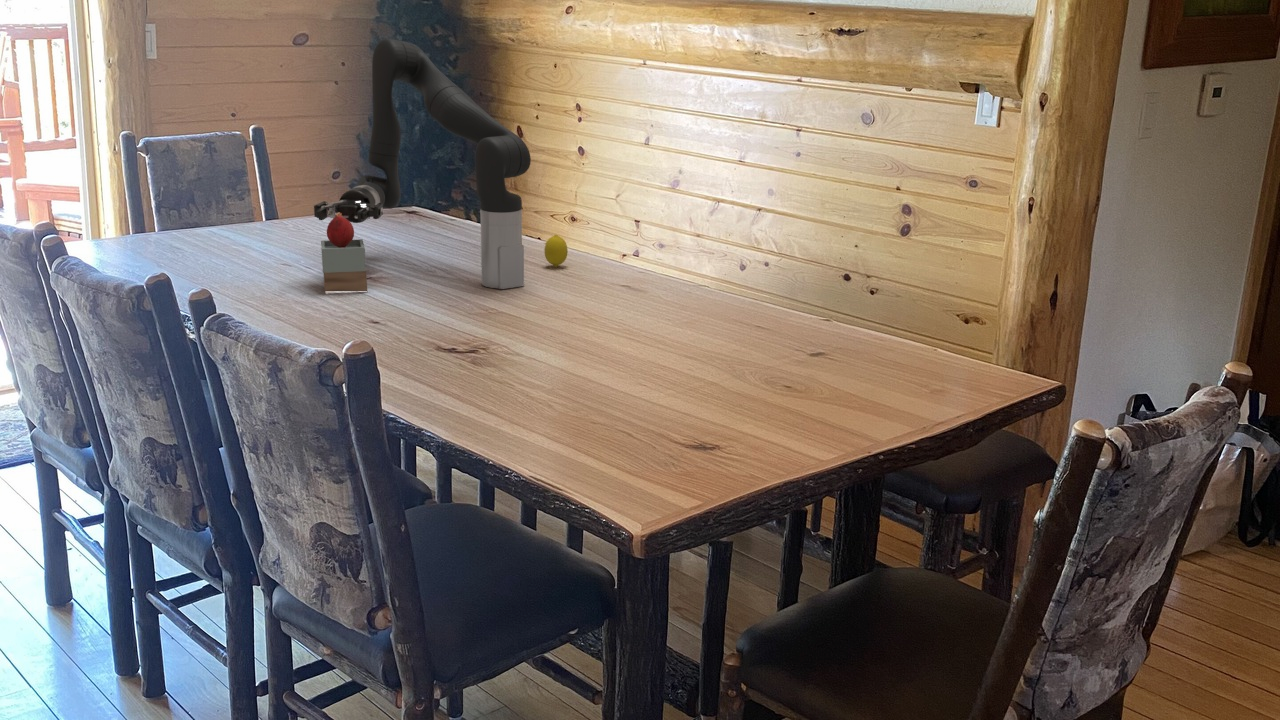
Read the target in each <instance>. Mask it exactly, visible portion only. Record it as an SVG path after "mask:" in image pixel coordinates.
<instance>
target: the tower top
mask: <svg viewBox="0 0 1280 720" xmlns="http://www.w3.org/2000/svg"><path fill="white" fill-rule="evenodd" d="M320 247H321V265H322V273H323V274H324V273H331V272H357V271H366V272H367V265H366V247H365V243H364V240H363V239H362V238H361V239H359V238H358V239H353V240H352V241H351V242H350V243H349V244H348V245H347V246H346V247H345V248H339V247H337V246H335V245H334V244H332V243H331V242H330V241H329V239H328V240H321V241H320Z"/></svg>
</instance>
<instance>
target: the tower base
mask: <svg viewBox="0 0 1280 720" xmlns="http://www.w3.org/2000/svg"><path fill="white" fill-rule="evenodd" d="M323 281H324V282H323V285H324V292H325V291H367V292H368V277H367V270H366V271H357V272H331V273H323Z"/></svg>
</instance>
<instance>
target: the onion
mask: <svg viewBox="0 0 1280 720" xmlns="http://www.w3.org/2000/svg"><path fill="white" fill-rule="evenodd" d="M326 236H327V239H328V240H329V241H330V242H331V243H332V244H334V245H335V246H337V247H339V248H345V247H346V246H347V245H348V244H349V243H350V242H351V241H352V240H354V237H355V229H354V226H353V224H352V222H349V221H348V220H347V219H346V218H344V217H342V214H341V213H337V214H336V216H335V218H334V219H333V218H331V220H330V222H329V223H328V224H327V228H326Z"/></svg>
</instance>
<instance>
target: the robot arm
mask: <svg viewBox="0 0 1280 720" xmlns="http://www.w3.org/2000/svg"><path fill="white" fill-rule="evenodd" d="M374 47H375V48H374V50H373V54H372V61H371V62H372V63H371V64H372V65H371V67H372V68H371V69H372V71H371V72H372V73H371V75H372V76H371V77H372V78H371V79H372V80H371V81H372V82H371V84H372V86H371V87H372V89H371V90H372V94H371V95H372V128H371V137H370V143H369V150H368V151H369V152H368V157H367V160H368V163H369V165H371V166H373V167H375V168H378V169H380V170H382V171H383V172H384V174H385V176H386V178H385V177H379V176H375V175H369V174H368V175H363V176H360V178H359V179H358V182H357V185H356V186H354V187H352V188H351V189H349V190H347V191H345V192H343V194H342V195H341V196H340V198H339V200H338V201H333V202H329V203H328V201H326V200H324V201H321V202H319V203H317V204H314V205H313V211H314V212H313V213H314V216H313V217H314V218H316V219H318V220H319V221H324V220H325V219H327V218H329V219H334V218H335V216H336V214H337V213H341V214H342V217H344V218H346V219H347V220H348V221H349V222H350V223H351V224H352V223H353V224H358V223H359V224H360V223H363V222H365V221H368V220H371V218H372V219H374V220H379V219H380V218H381V217H382V216H383V215H384V211H383V210H384V209H394V208H396V207H397V206H398V205H399V203H400V201H401V197H402V196H401V195H402V194H401V193H402V192H401V191H402V189H401V183H400V178H399V156H400V149H401V142H402V141H401V140H402V131H401V130H402V129H401V125H400V122H399V119H398V115H397V112H396V109H395V105H394V100H393V87H394V82H395V81H397V82H403V83H406V84H409V85H411V86H412V87H414V88H415V89H417V90H418V91H419V92H420V93H421V94H422V95H423V101H424V107H425V109H426V111H427V113H428V114H429V116H430V117H431V118H433V119H434V121H436V123H438V124H439V125H440V127H442V128H443V129H445V130H446V132H448V133H450V134H453V135H454V136H457V137H459V138H462V139H464V140H467V141H470V142H472V143H475V144H476V147H475V151H474V153H475V154H474V170H475V182H476V194H477V198H478V200H479V205H480V206H479V209H480V213H479V214H480V266H481V285H482V286H484V287H486V288H492V289H498V290H507V289H512V288H513V289H514V288H518V287H519V288H520V287H523V286H525V256H524V255H525V252H524V251H525V249H524V248H525V246H524V245H523V224H522V223H523V201H522V197H521V196H520V195H518V194H516V193H513V192H510V191H508V190H507V188H506V179H510V178H516V177H520V176H522V175H524V174H525V173H527V172H528V170H529V169H530V166H531V162H532V160H531V153H530V151H529V148H528V146H527V144H526V143H525V141H524V140H523V139H522V138H521V137H520V136H519V135H517V134H515V132H513V131H511V130H510V129H509V128H507V127H505V126H504V125H502V124H501V123H500V122H499V121H497V120H496V119H494V118H493V117H492V116H491V115H490V114H488V113H487V112H486V111H485V110H484V109H483V108H482V107H481V106H479V105H478V103H476V102H475V101H474V100H473V99H472V97H470V96H469V95H468V94H467V93H466V92H465V91H463V89H461V88H460V86H458V85H456V84H455V83H454V82H453V81H452V80H451V79H450V78H448V77H447V76H446V75H445V74H444V73H443V72H442V71H440V70H439V69H438V68H437V66H436V65H435V64H434V63H433V62H432V60H431V59H430V58H429V57H428V55H426V53H425V52H424V51H423V50H422V48H420V47H419V46H418V45H416V44H414V43H412V42H407V41H403V40H398V39H393V38H383V39H381V40H379V42H377V44H376V45H375V46H374Z"/></svg>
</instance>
